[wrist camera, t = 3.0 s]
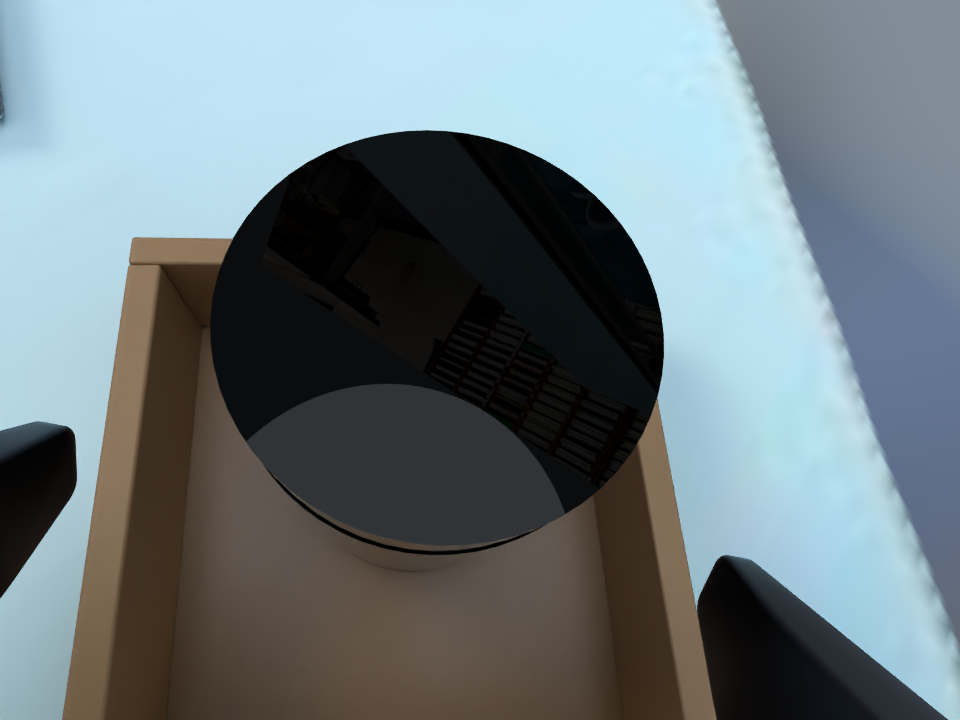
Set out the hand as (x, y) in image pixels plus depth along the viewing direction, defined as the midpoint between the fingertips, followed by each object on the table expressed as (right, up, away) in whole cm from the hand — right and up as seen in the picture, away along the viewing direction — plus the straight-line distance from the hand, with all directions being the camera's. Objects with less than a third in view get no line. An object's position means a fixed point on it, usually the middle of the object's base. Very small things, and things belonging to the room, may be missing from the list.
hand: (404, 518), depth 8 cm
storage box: (-1, -3, +10) cm, 10 cm away
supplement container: (-1, -1, +10) cm, 10 cm away
